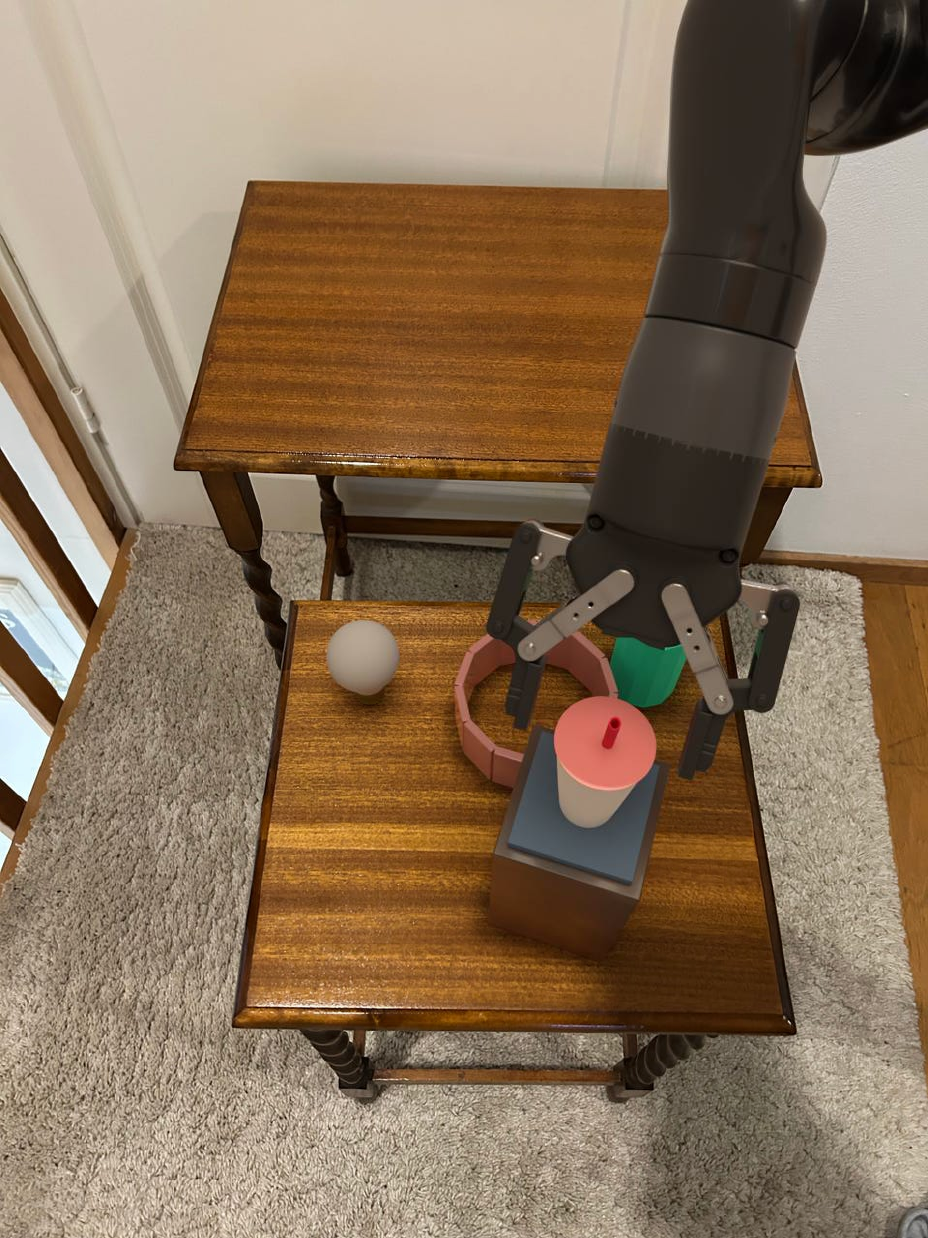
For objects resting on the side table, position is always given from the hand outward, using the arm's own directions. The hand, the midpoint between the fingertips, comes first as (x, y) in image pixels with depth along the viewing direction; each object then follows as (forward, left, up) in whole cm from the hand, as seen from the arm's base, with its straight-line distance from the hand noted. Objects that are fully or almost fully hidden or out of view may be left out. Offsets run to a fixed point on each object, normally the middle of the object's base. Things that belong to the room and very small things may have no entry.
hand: (602, 749), depth 48 cm
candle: (-2, -21, -29) cm, 36 cm away
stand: (0, -1, -29) cm, 29 cm away
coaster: (0, -1, -11) cm, 11 cm away
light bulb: (+20, -12, -29) cm, 37 cm away
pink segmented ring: (+6, -14, -29) cm, 33 cm away
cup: (0, -1, -10) cm, 10 cm away
